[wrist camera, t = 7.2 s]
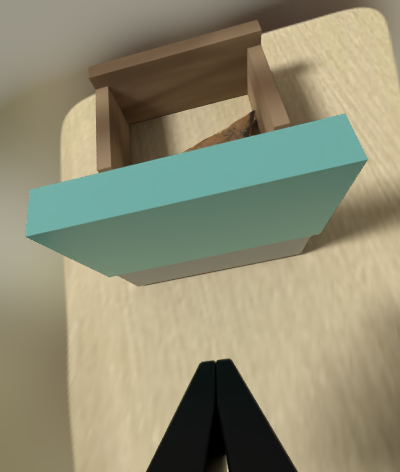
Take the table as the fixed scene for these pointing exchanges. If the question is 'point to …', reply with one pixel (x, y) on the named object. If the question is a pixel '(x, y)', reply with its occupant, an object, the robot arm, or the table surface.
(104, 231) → the block
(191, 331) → the table surface
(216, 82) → the box
